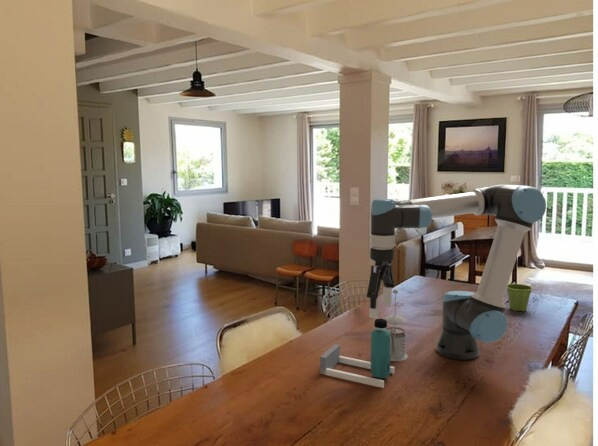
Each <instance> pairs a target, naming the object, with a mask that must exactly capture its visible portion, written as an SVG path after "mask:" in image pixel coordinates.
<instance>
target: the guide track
mask: <svg viewBox="0 0 598 446" xmlns="http://www.w3.org/2000/svg"><path fill="white" fill-rule="evenodd" d="M319 361H320V362H319V365H320V366H319V369H320V370H319V374H320V375H325V376H327V377H328V376H329V377H334V378H337V379H342V380H345V381H346V380H347V381H351V382H355V383H358V384H364V385H367V386H373V387H377V388H382V389H383V388H384V387H385V380H383V379H381V378H376V377H375V378H374V377H371V376H367V375H361V374H356V373H352V372H347V371H343V370H338V369H333V368H335V367H336V365H338V364H344V365H349V366H354V367H359V368H362V369H369V370H370V368H371V361H367V360H364V359H362V360H361V359H359V358H358V359H357V358H353V357H349V356H348V357H347V356H343V355H341V345H340V344H336V343H335V344H333V345H332V346H331V347H330V348H328V349H327V350H326V351H325V352H324V353H323V354H321V356H320V357H319ZM394 373H395V366H391V365H390V374H392V375H394Z"/></svg>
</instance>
